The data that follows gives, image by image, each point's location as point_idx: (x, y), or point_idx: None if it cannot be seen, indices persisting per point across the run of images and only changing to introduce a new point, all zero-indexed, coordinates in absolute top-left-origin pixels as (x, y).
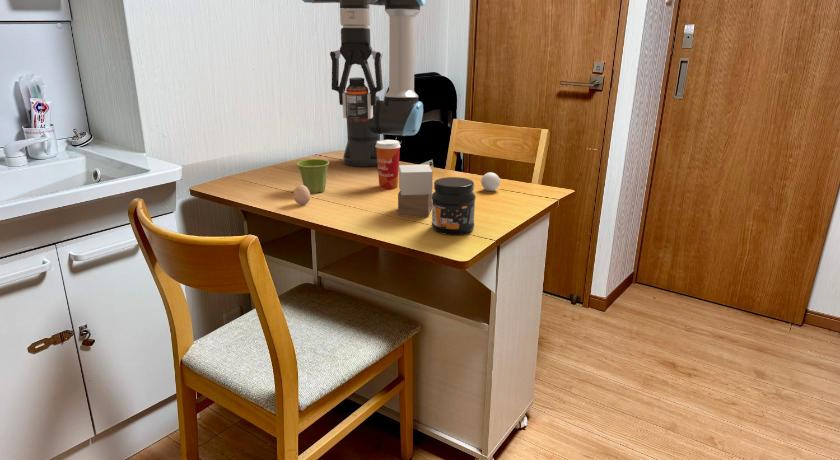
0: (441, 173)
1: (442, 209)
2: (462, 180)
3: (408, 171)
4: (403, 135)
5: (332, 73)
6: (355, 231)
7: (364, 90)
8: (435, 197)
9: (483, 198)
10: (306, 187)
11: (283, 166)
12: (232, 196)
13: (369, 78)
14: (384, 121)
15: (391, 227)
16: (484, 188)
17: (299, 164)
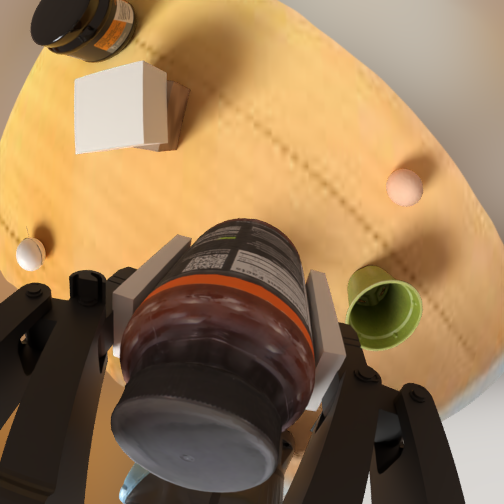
0: (118, 363)
1: None
2: (42, 22)
3: (124, 73)
4: None
5: (457, 493)
6: (278, 6)
7: (139, 308)
8: None
9: (47, 202)
10: (400, 190)
11: None
12: (501, 261)
13: (40, 373)
14: None
15: (208, 24)
16: (43, 246)
17: (413, 321)
